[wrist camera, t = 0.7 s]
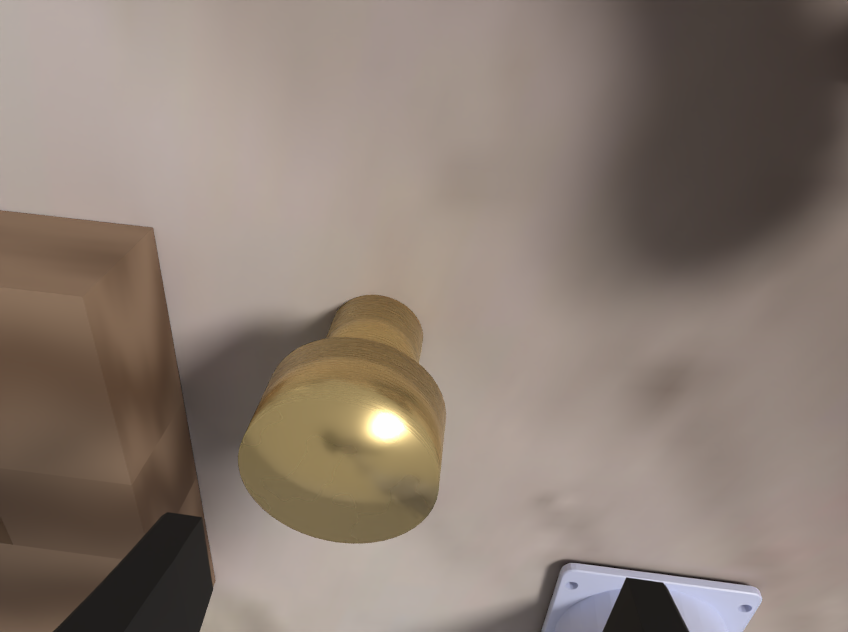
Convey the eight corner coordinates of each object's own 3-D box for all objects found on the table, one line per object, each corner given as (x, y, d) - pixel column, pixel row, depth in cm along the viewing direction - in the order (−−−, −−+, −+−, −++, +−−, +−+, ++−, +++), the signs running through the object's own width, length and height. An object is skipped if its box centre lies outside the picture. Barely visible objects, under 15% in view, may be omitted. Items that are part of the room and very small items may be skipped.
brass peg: (445, 401, 22) (430, 554, 17) (304, 383, 23) (246, 530, 17) (461, 277, 20) (448, 415, 14) (299, 258, 20) (228, 388, 15)
